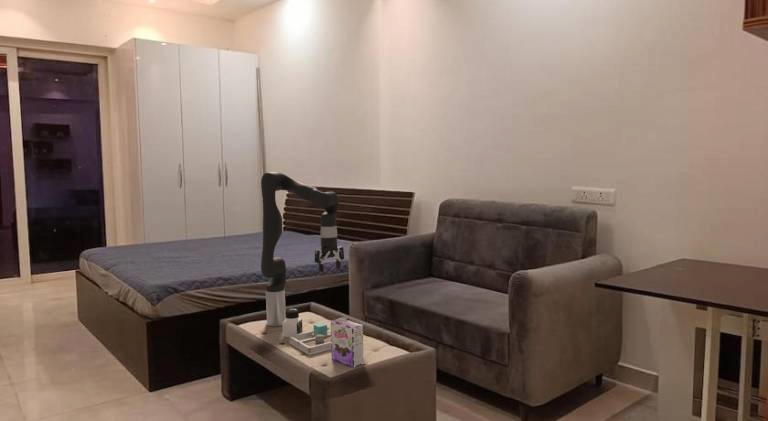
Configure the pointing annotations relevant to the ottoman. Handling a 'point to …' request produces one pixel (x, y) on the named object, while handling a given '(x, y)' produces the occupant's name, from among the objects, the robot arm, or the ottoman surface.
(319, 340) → the grey puck
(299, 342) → the lane board
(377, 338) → the ottoman surface
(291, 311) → the medicine bottle
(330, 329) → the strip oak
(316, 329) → the cube
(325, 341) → the strip walnut
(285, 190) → the robot arm
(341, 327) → the candy box
